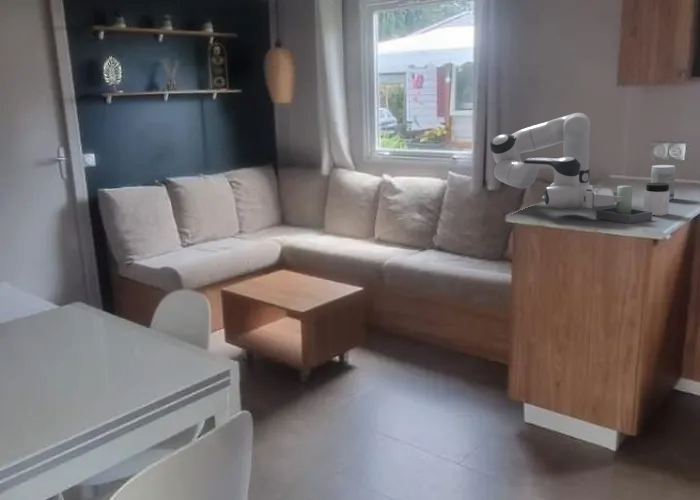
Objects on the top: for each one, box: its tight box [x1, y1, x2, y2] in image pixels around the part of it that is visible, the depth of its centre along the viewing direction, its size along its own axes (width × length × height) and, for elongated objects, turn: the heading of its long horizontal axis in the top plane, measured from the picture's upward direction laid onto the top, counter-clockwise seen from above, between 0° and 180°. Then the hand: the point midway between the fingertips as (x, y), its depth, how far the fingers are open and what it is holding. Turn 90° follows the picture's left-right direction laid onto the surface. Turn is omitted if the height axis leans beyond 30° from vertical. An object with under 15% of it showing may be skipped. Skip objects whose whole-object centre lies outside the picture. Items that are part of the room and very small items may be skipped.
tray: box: [595, 206, 653, 225], centre depth 252 cm, size 16×12×3 cm
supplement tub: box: [650, 164, 676, 201], centre depth 288 cm, size 10×10×15 cm
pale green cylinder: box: [615, 185, 634, 215], centre depth 251 cm, size 5×5×12 cm
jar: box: [643, 182, 670, 217], centre depth 258 cm, size 9×8×12 cm
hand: (625, 196), depth 250 cm, fingers open, 8 cm apart
